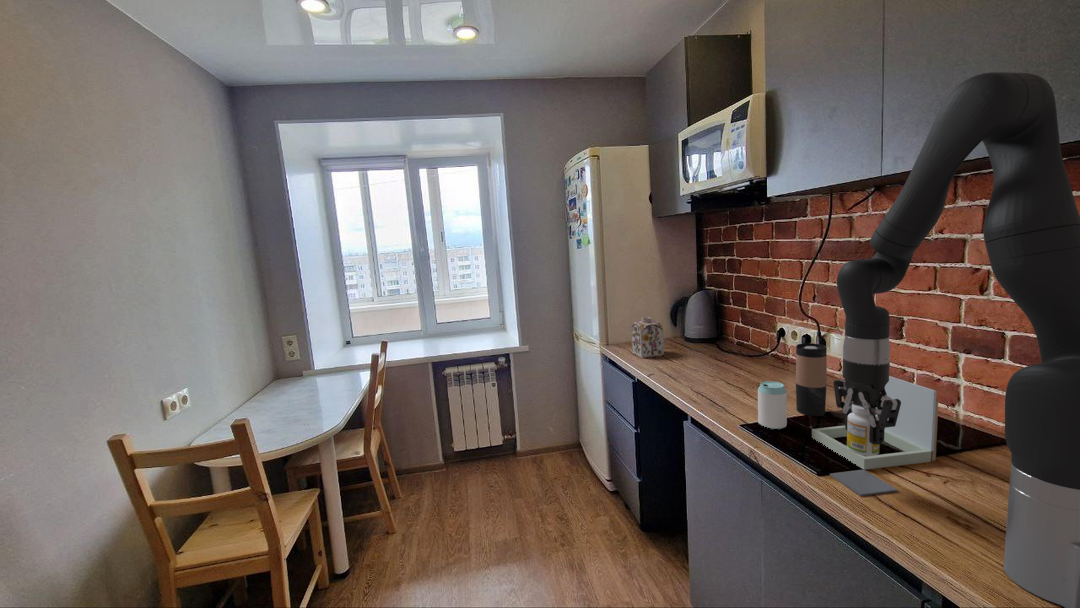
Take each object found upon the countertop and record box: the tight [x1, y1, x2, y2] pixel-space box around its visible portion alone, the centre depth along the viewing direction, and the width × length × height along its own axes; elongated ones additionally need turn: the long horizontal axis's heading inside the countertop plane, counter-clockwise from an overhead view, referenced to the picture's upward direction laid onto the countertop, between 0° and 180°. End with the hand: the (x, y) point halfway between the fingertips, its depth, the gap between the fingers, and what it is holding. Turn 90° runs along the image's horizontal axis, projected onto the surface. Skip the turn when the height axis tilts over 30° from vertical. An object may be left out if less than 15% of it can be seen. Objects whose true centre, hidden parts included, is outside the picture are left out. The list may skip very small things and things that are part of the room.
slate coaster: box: [829, 469, 898, 497], centre depth 88 cm, size 8×8×1 cm
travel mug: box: [795, 342, 828, 417], centre depth 124 cm, size 8×8×20 cm
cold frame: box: [811, 375, 939, 471], centre depth 101 cm, size 16×17×16 cm
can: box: [757, 380, 788, 430], centre depth 117 cm, size 7×7×12 cm
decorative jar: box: [630, 316, 665, 359], centre depth 202 cm, size 12×12×18 cm
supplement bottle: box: [846, 403, 881, 456], centre depth 87 cm, size 5×5×10 cm
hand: (863, 436), depth 87 cm, fingers closed on supplement bottle, 5 cm apart
